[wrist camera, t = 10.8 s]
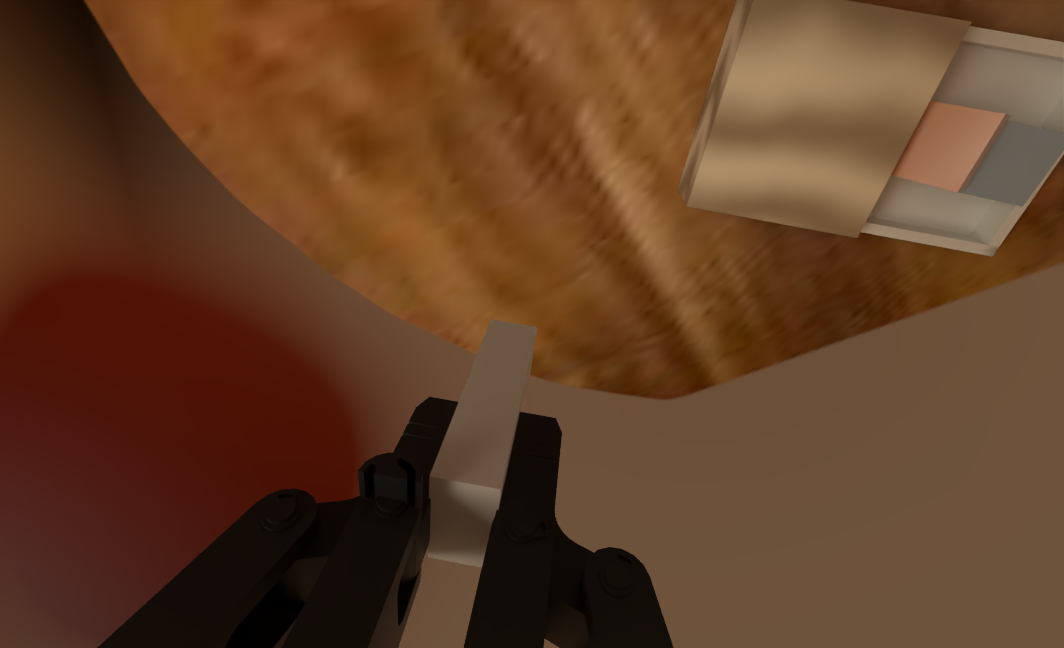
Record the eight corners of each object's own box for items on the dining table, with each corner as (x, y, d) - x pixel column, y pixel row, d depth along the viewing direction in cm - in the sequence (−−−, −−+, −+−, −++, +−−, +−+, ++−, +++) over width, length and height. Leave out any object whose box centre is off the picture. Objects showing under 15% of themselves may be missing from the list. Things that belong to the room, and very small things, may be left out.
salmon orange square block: (925, 99, 35) (915, 98, 33) (1011, 115, 32) (1005, 114, 30) (889, 169, 38) (878, 171, 36) (965, 189, 35) (957, 192, 33)
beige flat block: (738, -8, 34) (758, -16, 30) (924, 24, 34) (971, 21, 29) (677, 189, 41) (686, 206, 37) (830, 217, 41) (857, 238, 36)
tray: (924, 24, 34) (951, 22, 31) (1092, 53, 33) (1133, 54, 31) (830, 217, 41) (845, 229, 38) (967, 242, 40) (992, 256, 38)
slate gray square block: (1075, 135, 32) (1040, 128, 35) (1001, 119, 33) (972, 113, 35) (1022, 206, 35) (993, 195, 38) (954, 191, 35) (930, 181, 38)
